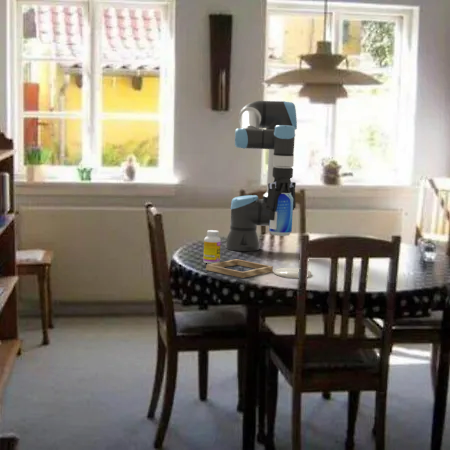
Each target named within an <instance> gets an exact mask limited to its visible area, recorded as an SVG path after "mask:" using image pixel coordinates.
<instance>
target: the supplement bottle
mask: <svg viewBox="0 0 450 450" xmlns="http://www.w3.org/2000/svg"><path fill="white" fill-rule="evenodd" d="M221 243H222V241H221V237H219V230H215V229H214V230H213V229H210V230H209V229H208V230H207V231H206V236H205V237H204V239H203V257H202V258H203V259H202V261H203V263H204V264H206V263H207V264H206V265H208V264H213V263H219V262H221V246H222V245H221Z"/></svg>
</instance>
